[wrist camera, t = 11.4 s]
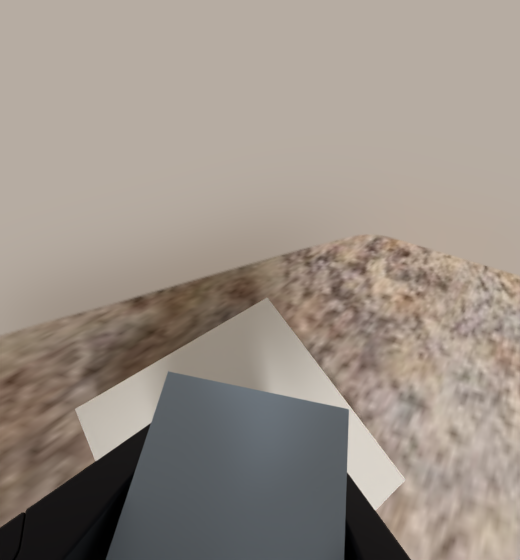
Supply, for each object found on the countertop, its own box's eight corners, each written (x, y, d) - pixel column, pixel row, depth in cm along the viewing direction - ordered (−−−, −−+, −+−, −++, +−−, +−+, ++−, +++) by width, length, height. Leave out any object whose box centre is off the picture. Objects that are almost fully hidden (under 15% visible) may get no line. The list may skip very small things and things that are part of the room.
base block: (373, 476, 19) (405, 479, 16) (197, 646, 15) (188, 700, 11) (261, 321, 24) (267, 297, 20) (102, 418, 19) (75, 408, 16)
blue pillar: (284, 438, 15) (349, 409, 7) (270, 548, 12) (340, 687, 5) (199, 420, 15) (168, 371, 7) (171, 527, 13) (81, 631, 5)
